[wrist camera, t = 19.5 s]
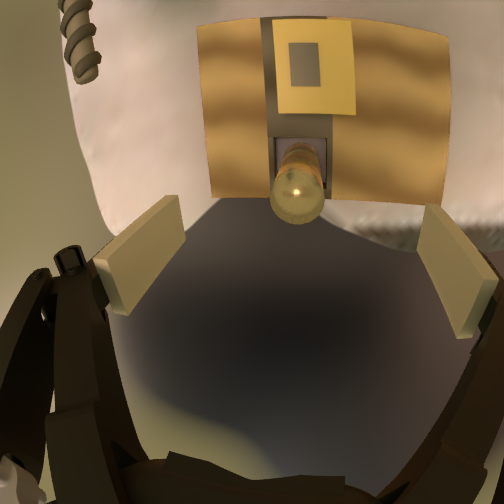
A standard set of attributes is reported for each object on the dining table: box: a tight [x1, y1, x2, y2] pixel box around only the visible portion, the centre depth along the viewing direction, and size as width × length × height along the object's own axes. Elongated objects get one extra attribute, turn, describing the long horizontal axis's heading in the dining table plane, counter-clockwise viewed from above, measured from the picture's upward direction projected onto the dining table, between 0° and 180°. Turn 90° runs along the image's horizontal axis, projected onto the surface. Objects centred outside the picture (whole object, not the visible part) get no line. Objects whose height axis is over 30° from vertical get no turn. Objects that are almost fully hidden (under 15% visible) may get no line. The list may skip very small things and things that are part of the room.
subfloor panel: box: [197, 16, 451, 207], centre depth 24 cm, size 18×24×2 cm
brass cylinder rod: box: [270, 143, 325, 224], centre depth 23 cm, size 3×3×12 cm
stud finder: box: [272, 19, 356, 115], centre depth 19 cm, size 8×6×4 cm
